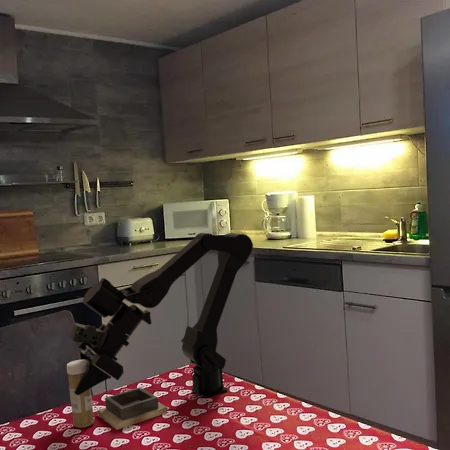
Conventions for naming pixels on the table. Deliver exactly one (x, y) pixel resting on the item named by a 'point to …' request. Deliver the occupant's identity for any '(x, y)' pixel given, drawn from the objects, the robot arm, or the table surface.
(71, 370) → the sprinkles bottle
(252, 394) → the table surface
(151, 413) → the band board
